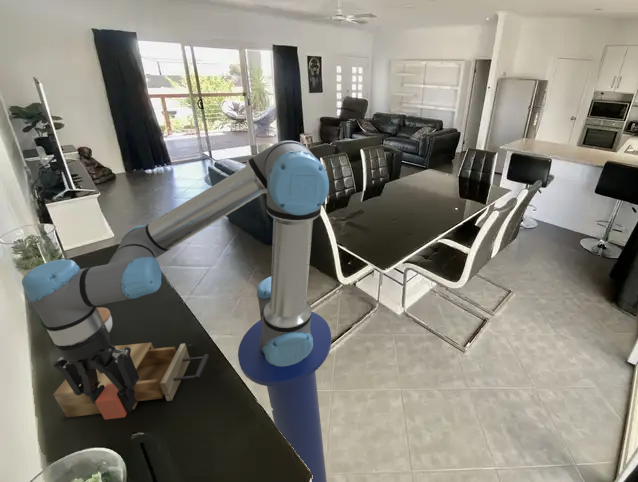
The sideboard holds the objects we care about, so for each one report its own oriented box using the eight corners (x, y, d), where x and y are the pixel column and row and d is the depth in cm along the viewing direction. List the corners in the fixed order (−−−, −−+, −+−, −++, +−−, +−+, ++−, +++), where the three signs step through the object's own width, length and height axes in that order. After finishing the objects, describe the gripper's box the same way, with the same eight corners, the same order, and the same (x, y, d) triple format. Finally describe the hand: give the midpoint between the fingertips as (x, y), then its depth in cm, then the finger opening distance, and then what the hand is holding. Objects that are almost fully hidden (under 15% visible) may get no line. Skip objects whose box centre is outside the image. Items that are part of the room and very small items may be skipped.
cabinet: (159, 363, 94) (151, 342, 91) (134, 409, 82) (123, 386, 79) (101, 369, 92) (91, 348, 89) (66, 417, 80) (52, 394, 77)
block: (135, 399, 76) (126, 381, 73) (124, 417, 72) (115, 399, 69) (115, 401, 75) (106, 384, 73) (104, 419, 71) (94, 402, 69)
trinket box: (116, 341, 102) (106, 318, 98) (72, 357, 96) (60, 333, 93) (117, 320, 110) (108, 298, 106) (77, 334, 104) (65, 311, 101)
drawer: (214, 357, 95) (209, 340, 93) (199, 397, 84) (193, 379, 81) (137, 365, 93) (130, 348, 90) (111, 407, 82) (102, 389, 79)
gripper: (137, 314, 68) (167, 388, 78) (47, 322, 66) (89, 397, 76) (115, 342, 61) (152, 419, 71) (15, 353, 59) (66, 431, 69)
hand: (119, 408), depth 73 cm, fingers closed on block, 4 cm apart
